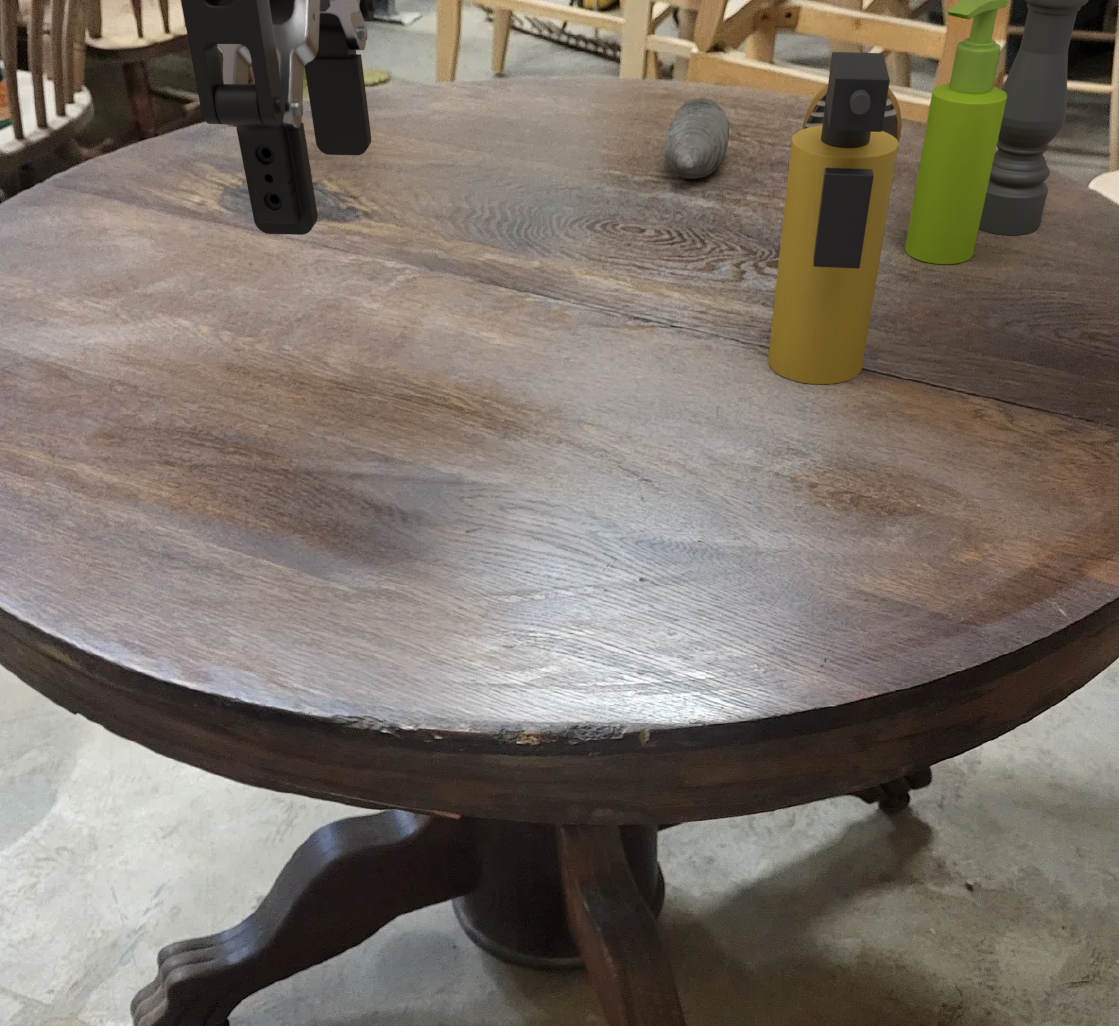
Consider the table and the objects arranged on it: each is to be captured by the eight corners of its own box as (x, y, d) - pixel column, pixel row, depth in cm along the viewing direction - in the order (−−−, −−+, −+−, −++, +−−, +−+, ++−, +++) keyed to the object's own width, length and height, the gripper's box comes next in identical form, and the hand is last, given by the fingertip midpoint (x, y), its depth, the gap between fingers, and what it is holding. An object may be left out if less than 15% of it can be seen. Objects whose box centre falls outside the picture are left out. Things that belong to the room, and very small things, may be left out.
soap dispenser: (883, 253, 108) (926, -1, 95) (930, 233, 111) (977, -15, 98) (940, 273, 104) (991, 12, 91) (986, 252, 108) (1042, -3, 95)
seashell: (651, 165, 117) (675, 75, 115) (659, 176, 130) (680, 95, 127) (715, 183, 117) (740, 93, 114) (716, 192, 130) (739, 111, 127)
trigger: (858, 261, 81) (872, 168, 77) (859, 269, 80) (874, 175, 76) (812, 259, 82) (824, 167, 78) (813, 267, 81) (825, 173, 77)
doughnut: (796, 180, 122) (808, 71, 116) (799, 167, 125) (811, 61, 118) (892, 186, 120) (910, 76, 114) (893, 173, 123) (911, 66, 117)
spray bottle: (859, 344, 94) (908, 37, 80) (867, 413, 86) (924, 84, 72) (768, 340, 95) (800, 35, 81) (767, 407, 87) (803, 81, 73)
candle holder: (972, 207, 116) (1037, -103, 100) (1040, 214, 114) (1117, -100, 98) (967, 231, 111) (1034, -90, 95) (1038, 238, 110) (1118, -86, 94)
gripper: (290, -341, 32) (370, 266, 43) (405, -360, 42) (445, 130, 53) (17, -334, 33) (163, 260, 43) (197, -354, 43) (278, 128, 54)
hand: (318, 188), depth 48 cm, fingers open, 8 cm apart
